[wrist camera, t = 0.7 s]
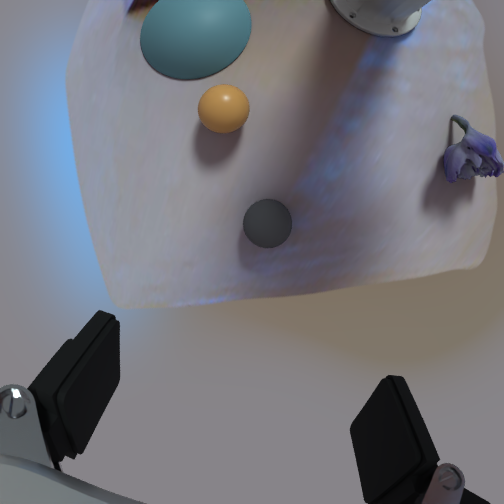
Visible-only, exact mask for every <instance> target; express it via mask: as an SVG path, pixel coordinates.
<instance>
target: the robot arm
mask: <svg viewBox="0 0 504 504" xmlns="http://www.w3.org/2000/svg"><path fill="white" fill-rule="evenodd" d="M330 1H331V3H332V5H333V6H334V8H335V9H336V10H337V12H338V13H339V14H340V15H341V16H342V17H343V18H344V19H345V20H347V21H348V22H349V23H350V24H352V25H353V26H355V27H356V28H358V29H360V30H362V31H364V32H366V33H370V34H373V35H376V36H382V37H396V36H401V35H403V34H406V33H408V32H409V31H411V30H412V29H413V28H414V27H415V26H416V25H417V24H418V22H419V20H420V17H421V13H422V7H423V6H424V5H426V4H427V3H428V2H430V1H431V0H330ZM350 16H351V17H353V18H351V17H350ZM392 30H393V31H394V32H393V31H392ZM119 335H120V323H119V321H117V320H116V317H115V316H114V315H113V314H110V313H106V312H104V311H101V310H99V311H98V312H96V314H95V315H94V316H93V317H92V318H91V319H90V321H89V322H88V323H87V324H86V325H85V326H84V327H83V329H82V330H81V331H80V332H79V333H78V335H77V336H76V337H75V338H74V339H68V340H67V341H66V342H65V343H64V344H63V345H62V346H61V348H60V349H59V350H58V351H57V352H56V354H55V355H54V356H53V357H52V358H51V360H50V361H49V362H48V363H47V365H46V366H45V367H44V368H43V370H42V371H41V372H40V374H38V376H37V377H36V378H35V380H34V381H33V382H32V384H31V385H30V386H29V387H28V388H27V389H26V388H25V387H23V386H20V385H13V384H11V385H6V386H3V387H1V388H0V504H146V503H143V502H140V501H136V500H133V499H130V498H127V497H124V496H121V495H118V494H115V493H112V492H110V491H107V490H104V489H102V488H99V487H97V486H94V485H92V484H89V483H87V482H84V481H82V480H80V479H77V478H75V477H72V476H70V475H67V474H65V473H63V470H62V467H61V464H60V462H61V461H62V460H63V459H64V457H65V456H67V457H69V458H72V459H75V457H76V455H77V453H78V454H82V453H83V452H84V450H85V448H86V446H87V444H88V442H89V440H90V438H91V436H92V434H93V432H94V430H95V428H96V426H97V424H98V422H99V420H100V418H101V416H102V414H103V412H104V411H105V409H106V407H107V405H108V403H109V401H110V399H111V397H112V395H113V393H114V392H115V390H116V388H117V386H118V384H119V380H120V336H119ZM350 434H351V439H352V443H353V448H354V452H355V457H356V462H357V467H358V471H359V476H360V482H361V487H362V492H363V497H364V501H365V502H366V503H368V504H490V503H489V502H488V501H486V500H484V499H482V498H480V497H479V496H477V495H476V494H474V493H472V492H470V491H469V490H467V489H465V488H464V486H465V478H464V475H463V473H462V471H461V470H460V469H459V468H458V467H457V466H455V465H453V464H450V463H444V464H441V465H439V466H438V465H437V462H438V461H439V460H440V458H439V456H438V454H437V451H436V448H435V446H434V444H433V442H432V439H431V437H430V434H429V432H428V429H427V427H426V425H425V423H424V420H423V418H422V416H421V414H420V411H419V409H418V407H417V405H416V402H415V400H414V398H413V396H412V394H411V392H410V390H409V387H408V385H407V383H406V381H405V379H404V378H403V377H402V376H394V375H388V376H386V378H384V379H382V380H381V381H380V383H379V384H378V386H377V388H376V389H375V391H374V392H373V394H372V395H371V397H370V398H369V400H368V401H367V403H366V404H365V406H364V407H363V408H362V410H361V411H360V413H359V414H358V415H357V417H356V418H355V419H354V421H353V422H352V424H351V427H350Z"/></svg>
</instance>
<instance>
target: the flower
mask: <svg viewBox="0 0 504 504" xmlns="http://www.w3.org/2000/svg"><path fill="white" fill-rule="evenodd" d="M451 120H453V121H455V122H457V123H458V125H459V126H460V127H461V128H462V129H463V130H464V131H465V136H464V137H463V139H462V141H461V142H459V143H457V144H454V145H451V146H449V147H448V148H447V149H446V151H445V154H444V169H445V175H446V181H449V182H450V183H453V182H456V180H457V178H463V179H465V180H466V179H469V180H470V179H471V177H472V176H476V175H480V177H483V176H485V178H486V176H487V175H489V176H490V177H491V176H492V175H494V176H495V177H498V176H499V175H500V174H501V173H503V172H504V171H503V166H504V162H503V160H502V158H501V155H500V154H499V152H498V150H497V148H496V143H495V141H494V139H492V138H491V137H489V136H487V135H484V134H482V133H480V132H478V131H476V130H475V129H473V128H472V127H471V126H470V124H469V122H468V121H467V120H466V119H464V118H463V117H461V116H458V115H453V116H452V117H451ZM456 177H457V178H456Z"/></svg>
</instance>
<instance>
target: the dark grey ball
mask: <svg viewBox="0 0 504 504" xmlns="http://www.w3.org/2000/svg"><path fill="white" fill-rule="evenodd" d="M243 227H244V231H245V234H246V236H247V237H248V239H249V240H250V241H251V242H252V243H254V244H255V245H257V246H259V247H263V248H273V247H276V246H278V245H280V244H282V243H283V242H284V241H285V240H286V239H287V238H288V236H289V235H290V232H291V229H292V218H291V215H290V213H289V211H288V209H287V208H286V207H285V206H284V205H283V204H281V203H280V202H278V201H275V200H270V199H265V200H260V201H258V202H256V203H254V204H253V205H251V206H250V207H249V209H248V210H247V212H246V213H245V216H244V221H243Z"/></svg>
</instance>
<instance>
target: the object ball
mask: <svg viewBox="0 0 504 504" xmlns="http://www.w3.org/2000/svg"><path fill="white" fill-rule="evenodd" d="M198 114H199V118H200V120H201V122H202V123H203V124H204V126H205V127H207V128H208V129H209V130H211V131H213V132H216V133H230V132H233V131H235V130H237V129H239V128H240V127H241V126H242V125H243V124H244V123H245V122H246V120H247V118H248V115H249V102H248V99H247V97H246V95H245V94H244V93H243V92H242V91H241V90H240V89H238V88H237V87H235V86H232V85H226V84H222V85H217V86H214V87H212V88H210V89H208V90H207V91H206V92H205V93H204V94H203V95H202V97H201V99H200V101H199V104H198Z"/></svg>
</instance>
